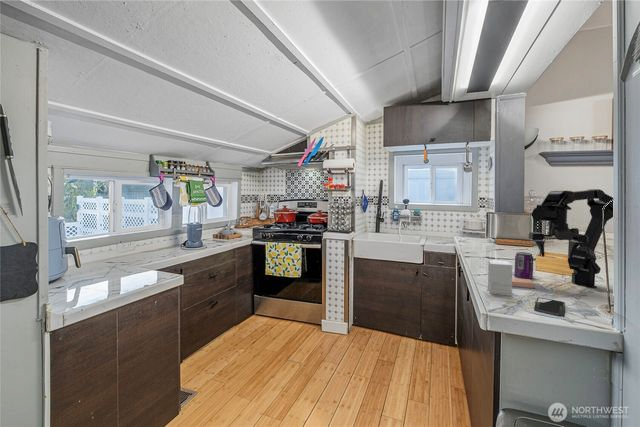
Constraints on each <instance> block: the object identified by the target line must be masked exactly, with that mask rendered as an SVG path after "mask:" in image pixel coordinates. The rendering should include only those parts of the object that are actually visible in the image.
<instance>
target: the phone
mask: <svg viewBox="0 0 640 427" xmlns="http://www.w3.org/2000/svg"><path fill="white" fill-rule="evenodd" d="M542 299H543V300H549V301H544V302H543V301H538V300H539V297H537V298H536V302H535V304H534V307H533V310H534V311H535V312H537V313H538V312H539V313H543V314H547V315H552V316H557V317H561V316H562V317H565V313H566V311H565V307H566V302H565V301H562V300H556V299H550V298H545V297H542Z"/></svg>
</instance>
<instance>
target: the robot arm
mask: <svg viewBox="0 0 640 427" xmlns="http://www.w3.org/2000/svg"><path fill="white" fill-rule="evenodd" d="M613 198H614V197H612V196H610V195H609V194H606V193H605V192H604V191H603V189H599V188H598V189H597V188H595V189H587V190H578V191H577V190H576V191H572V190H550V191H549V192H548V194H547V195H546V196H545V198H544V200H543V201H542V203H541V204H536V207H535V208H534V209H533V210H532V212H531V217H532V219H533V220H535V221H536V222H547V225H548V231H547V234H545V233H543V232H537V231H536V232H529V233H528V239H529V240H531V241H532V242H534V243H535V244H536V246H537V248H538V249H539V250H538V251H539V252H540V255H541V257H542V258H543V257H545V243H546V241H544V240H546V239H547V240H558V241H568V248H567V250H568V251H567V252H568V253H567V254H568V255H567V263H568V266H569V267H568V268H569V270H573V271H572V273H571V283H572V284H575V285H577V286H580V287H581V286H583V287H585V288H595V289H596V288H598V286H597V285H596V284H595V283H596V282H595V281H596V275H598V274H600V272H601V269H602V268H601V267H600V266H599V264H598V263H597V262H596V261H597V255H596V253H595V250H596V247H597V246H598V243H599V240H600V239H601V236H602V234H603V231H604V229H602V208H603V206H604V205H605V204H606V203H607V202H609V201H610V200H612V199H613ZM583 200H586V205H587V206H588V207H589V213H590V216H591V219H590V221H589V222H588V226H587V227H586V230H585V232H584V234H583V233H580V229H579V228H577V227H574V228H573V227H571V228H569V223H567V222H568V220H567V219H568V211H570V210H572V207H570V206H569V204H572V203H574V202H575V201H583ZM612 218H614V217H613V201H612V202H610V203H609V204H608V205H607V206H606V207H605V209H604V226H605V227H606V225H607V222H608V221H609V220H612Z"/></svg>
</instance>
